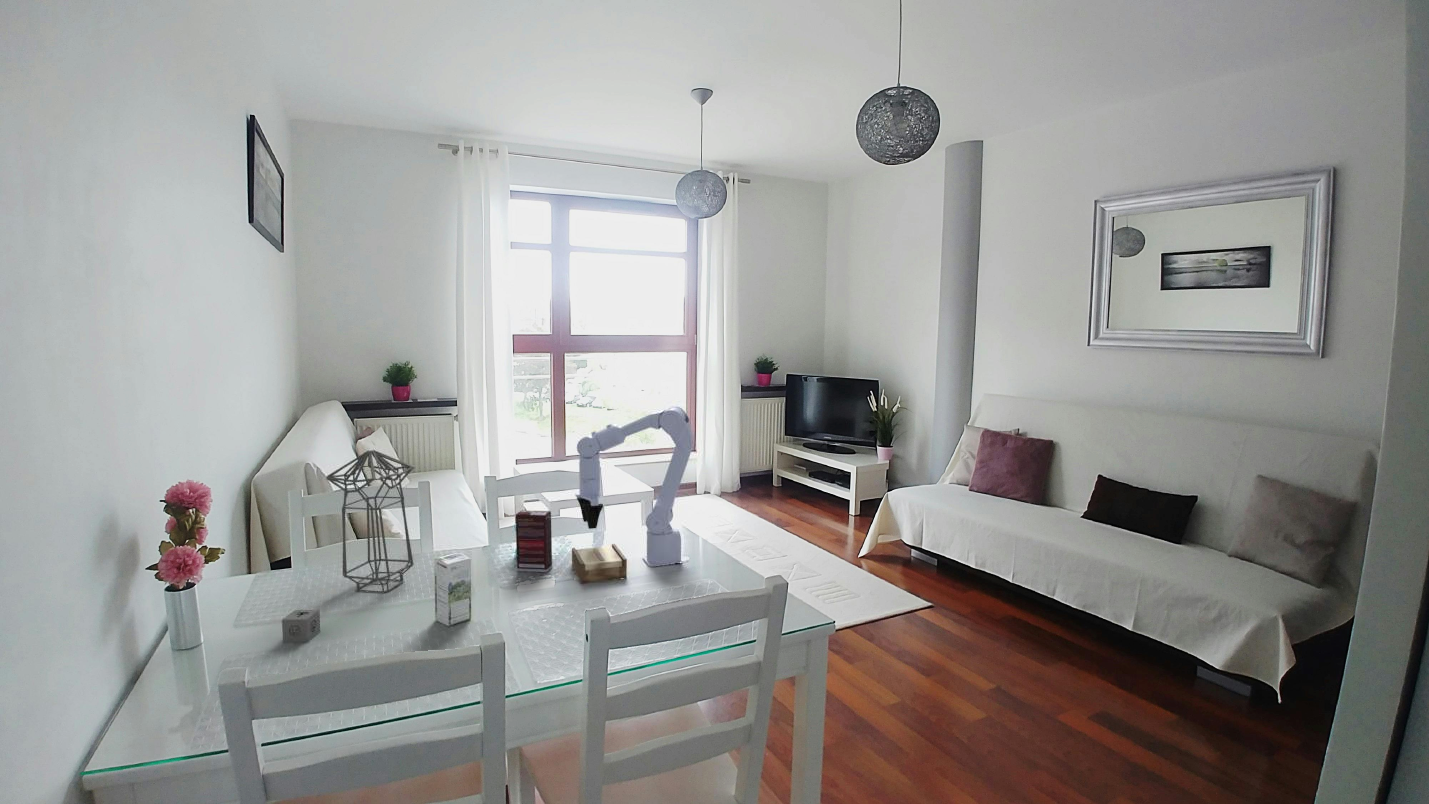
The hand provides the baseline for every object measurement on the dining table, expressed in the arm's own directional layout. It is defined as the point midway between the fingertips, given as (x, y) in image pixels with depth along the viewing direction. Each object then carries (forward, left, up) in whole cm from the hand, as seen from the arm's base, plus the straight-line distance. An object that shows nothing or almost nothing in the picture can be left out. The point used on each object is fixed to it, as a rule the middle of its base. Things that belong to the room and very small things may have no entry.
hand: (589, 524), depth 199 cm
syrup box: (+37, +32, -10) cm, 50 cm away
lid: (0, +12, -7) cm, 14 cm away
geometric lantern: (+55, +4, -10) cm, 56 cm away
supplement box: (+16, +4, -10) cm, 19 cm away
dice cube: (+67, +31, -10) cm, 74 cm away
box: (0, +12, -10) cm, 16 cm away
